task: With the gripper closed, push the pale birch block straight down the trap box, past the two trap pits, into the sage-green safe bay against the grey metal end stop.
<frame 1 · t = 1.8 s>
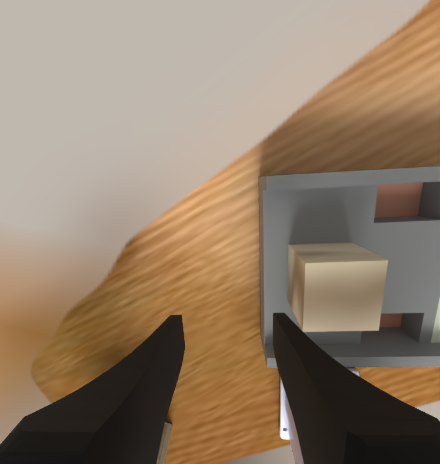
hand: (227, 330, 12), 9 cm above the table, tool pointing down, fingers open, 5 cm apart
skincare box: (146, 427, 26), on the table
birch block: (318, 272, 18), point 2 cm above the table, touching trap box
trap box: (407, 258, 20), on the table
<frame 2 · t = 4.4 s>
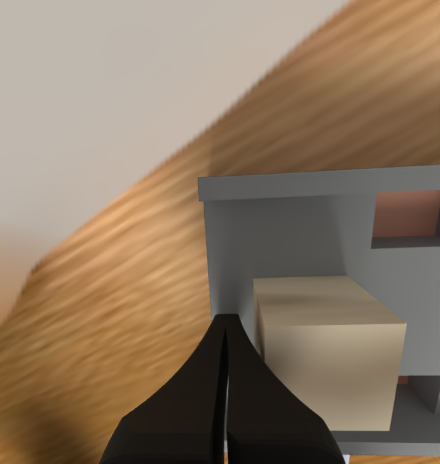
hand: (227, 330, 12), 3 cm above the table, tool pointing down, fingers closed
birch block: (298, 317, 12), point 2 cm above the table, touching gripper, trap box
trap box: (418, 292, 14), on the table
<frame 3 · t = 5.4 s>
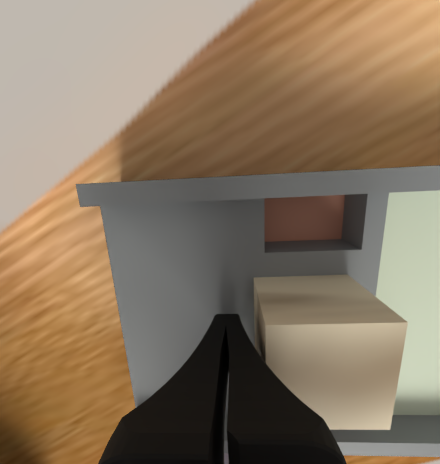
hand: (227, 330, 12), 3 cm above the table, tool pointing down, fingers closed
birch block: (298, 316, 12), point 3 cm above the table, touching gripper, trap box
trap box: (333, 294, 14), on the table
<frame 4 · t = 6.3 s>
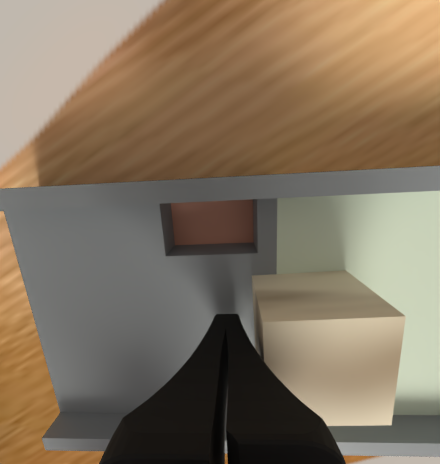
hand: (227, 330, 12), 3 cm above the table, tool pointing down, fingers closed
birch block: (298, 313, 12), point 3 cm above the table, touching gripper
trap box: (253, 296, 15), on the table
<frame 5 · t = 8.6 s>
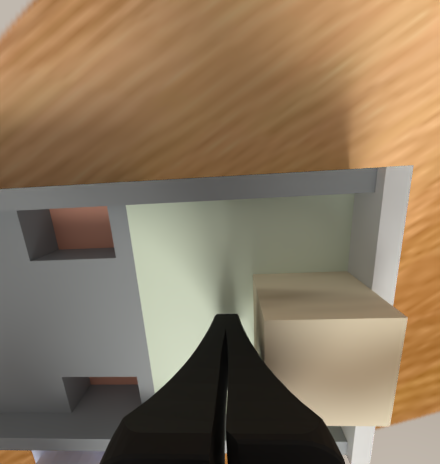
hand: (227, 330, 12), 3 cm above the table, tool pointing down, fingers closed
birch block: (298, 313, 12), point 2 cm above the table, touching gripper, trap box
trap box: (143, 299, 15), on the table
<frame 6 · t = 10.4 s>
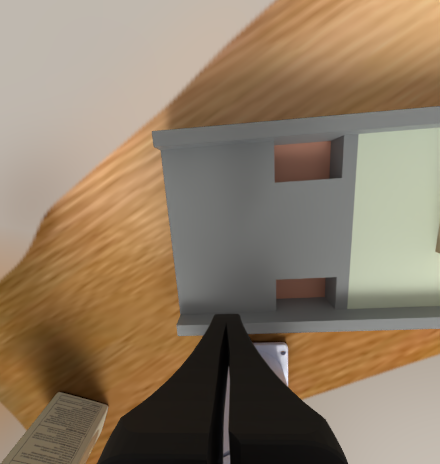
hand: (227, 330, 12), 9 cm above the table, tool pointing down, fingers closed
skincare box: (83, 409, 26), on the table
trap box: (325, 224, 19), on the table
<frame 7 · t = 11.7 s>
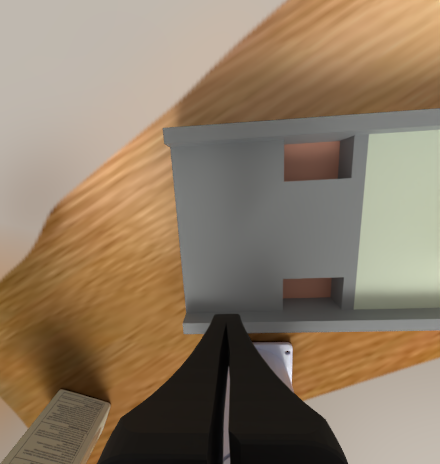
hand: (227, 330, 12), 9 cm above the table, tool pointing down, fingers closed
skincare box: (85, 406, 26), on the table
trap box: (332, 224, 19), on the table
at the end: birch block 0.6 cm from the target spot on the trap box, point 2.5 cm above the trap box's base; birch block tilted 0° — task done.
